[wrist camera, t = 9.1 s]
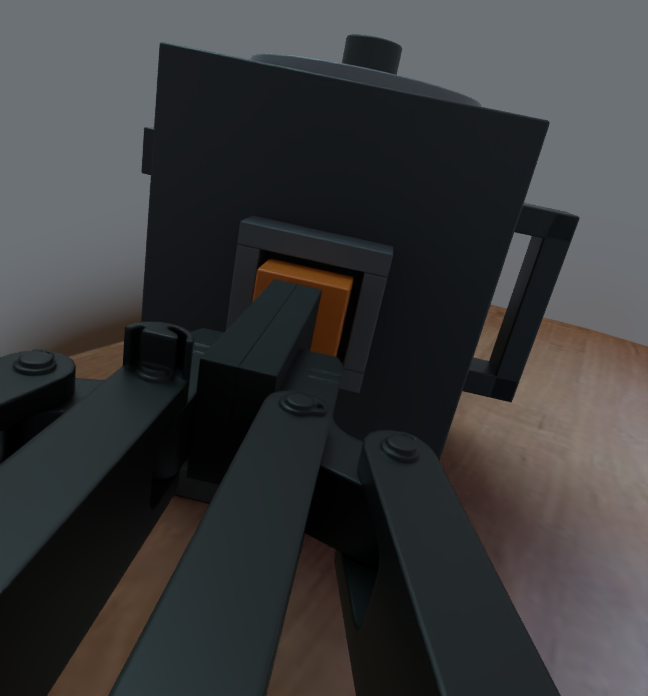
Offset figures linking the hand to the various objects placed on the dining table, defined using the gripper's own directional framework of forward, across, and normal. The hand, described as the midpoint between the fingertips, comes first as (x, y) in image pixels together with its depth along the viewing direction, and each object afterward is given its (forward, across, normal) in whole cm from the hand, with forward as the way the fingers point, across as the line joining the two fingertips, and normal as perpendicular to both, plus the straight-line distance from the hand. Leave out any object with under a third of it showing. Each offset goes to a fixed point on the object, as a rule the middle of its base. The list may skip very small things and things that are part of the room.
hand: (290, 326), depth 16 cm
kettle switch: (+2, 0, -2) cm, 2 cm away
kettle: (+10, 0, -10) cm, 14 cm away
